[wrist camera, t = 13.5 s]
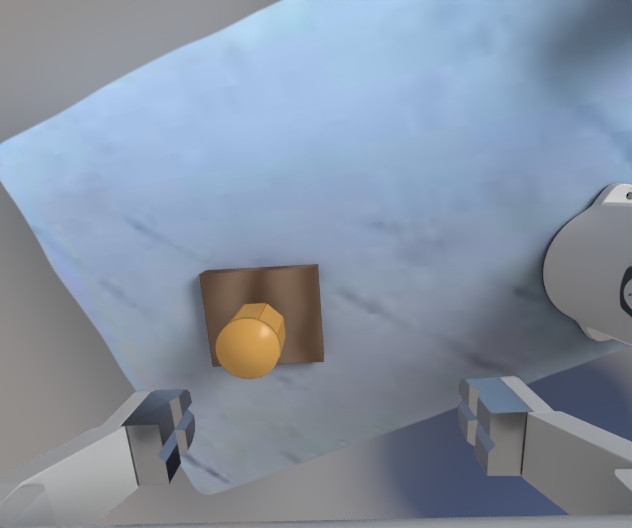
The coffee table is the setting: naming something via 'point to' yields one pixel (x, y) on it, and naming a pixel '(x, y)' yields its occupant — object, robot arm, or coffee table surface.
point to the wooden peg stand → (275, 290)
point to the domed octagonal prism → (251, 341)
